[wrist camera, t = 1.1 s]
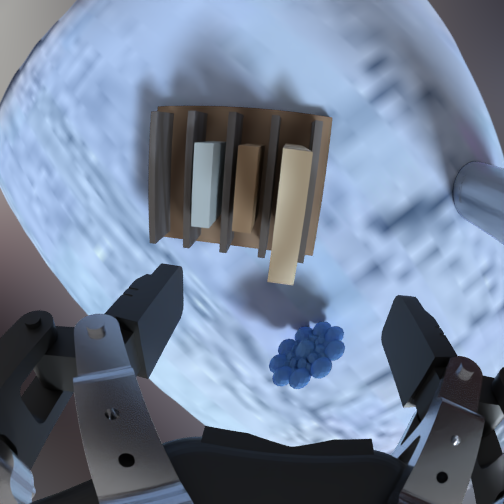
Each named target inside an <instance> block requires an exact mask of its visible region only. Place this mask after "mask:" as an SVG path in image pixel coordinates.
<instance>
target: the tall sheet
mask: <svg viewBox="0 0 504 504" xmlns="http://www.w3.org/2000/svg"><path fill="white" fill-rule="evenodd" d="M312 156H313V152H312V151H310V150H309V149H307V148H306V147H304V146H302V145H296V144H288V143H286V144H285V145H284V147H283V154H282V163H281V172H280V181H279V190H278V199H277V208H276V216H275V225H274V233H273V241H272V250H271V258H270V266H269V274H268V281H267V282H272V283H280V284H288V285H293V284H294V278H295V272H296V267H297V261H298V254H299V248H300V242H301V236H302V229H303V222H304V216H305V209H306V202H307V195H308V187H309V180H310V172H311V164H312Z"/></svg>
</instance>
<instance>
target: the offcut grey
mask: <svg viewBox="0 0 504 504" xmlns="http://www.w3.org/2000/svg"><path fill="white" fill-rule="evenodd" d="M225 152H226V142H221V141H207V142H196V143H195V144H194V162H193V183H192V214H191V226H193V227H202V228H210V227H211V225H212V224H213V223H214V222H215V221H216V219H217V218H218V217H219V216H220V215H221V212H222V195H223V180H224V166H225Z"/></svg>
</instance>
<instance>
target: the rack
mask: <svg viewBox="0 0 504 504" xmlns="http://www.w3.org/2000/svg"><path fill="white" fill-rule="evenodd" d="M331 126H332V118H331V117H325V116H319V115H312V114H305V113H298V112H290V111H281V110H271V109H259V108H245V107H226V106H161V107H158V110H157V111H152V112H151V123H150V143H149V235H150V243H154V244H156V243H157V242H158V241H159V240H160V239H161V238H163V237H171V238H179V239H183V247H184V248H190V247H191V246H192V245H193V243H194V242H195V241H202V242H210V243H218V244H220V250H219V252H221V253H226V252H227V250H228V249H229V247H230V245H234V246H241V247H249V248H257V249H258V257H259V258H265V253H266V250H272V241H273V233H274V225H275V216H276V208H277V199H278V190H279V181H280V172H281V163H282V154H283V147H284V145H285V144H286V143H288V144H296V145H302V146H304V147H306V148H307V149H309V150H310V151H312V152H313V156H312V164H311V172H310V180H309V187H308V195H307V202H306V209H305V216H304V222H303V229H302V236H301V242H300V248H299V254H298V261H297V262H298V263H303V261H304V256H305V255H311V256H313V250H314V244H315V239H316V233H317V227H318V221H319V215H320V208H321V202H322V195H323V189H324V182H325V175H326V167H327V160H328V152H329V144H330V135H331ZM207 141H221V142H226V152H225V166H224V180H223V195H222V212H221V215H220V216H219V217H218V218H217V219H216V221H215V222H214V223H213V224H212V225H211V227H210V228H202V227H193V226H191V214H192V183H193V162H194V144H195V143H196V142H207ZM242 144H259V145H265V146H264V156H263V166H262V177H261V187H260V197H259V207H258V216H257V219H256V221H255V224H254V226H253V229H252V231H251V233H243V232H235V231H232V222H233V208H234V194H235V181H236V168H237V156H238V145H242Z"/></svg>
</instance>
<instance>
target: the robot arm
mask: <svg viewBox="0 0 504 504" xmlns="http://www.w3.org/2000/svg"><path fill="white" fill-rule="evenodd" d="M453 196H454V203H455V206H456V209H457V211H458V212H459V214H460V215H461V216H462V217H463V218H464V219H465V220H467V221H469V222H470V223H472V224H473V225H475V226H477V227H478V228H480V229H481V230H483V231H484V232H486V233H487V234H489V235H490V236H492V237H493V238H495V239H496V240H498V241H499V242H501V243H502V244H503V245H504V169H503V168H500V167H496V166H493V165H489V164H486V163H482V162H470V163H468V164H466V165H465V166H464V167H463V168H462V169H461V170H460V172H459V173H458V175H457V177H456V180H455V184H454V190H453ZM182 312H183V270H182V267H181V266H175V265H169V264H160V265H159V267H158V268H157V269H156V270H155V271H154V272H153V273H152V274H151V275H149V274H146V275H144V276H142V277H140V278H138V279H136V280H135V281H134V282H133V283H132V284H131V285H130V286H129V289H127V290H126V291H125V292H124V293H123V295H121V296H120V297H119V298H118V299H117V301H116V302H115V303H114V304H113V305H112V306H111V307H110V308H109V309H108V311H107V312H106V313H105V314H93V315H89V316H87V317H84V318H83V319H81V320H80V321H79V322H78V323H77V324H76V326H75V327H62V326H55V323H54V320H53V317H52V315H51V314H50V313H48V312H46V311H40V310H39V311H32V312H29V313H27V314H25V315H23V316H22V317H21V318H20V319H19V320H18V321H17V322H16V323H15V324H14V325H13V326H12V327H11V328H10V329H9V330H8V331H7V332H6V333H5V334H4V335H3V336H2V337H1V338H0V504H462V501H463V498H464V496H465V493H466V490H467V487H468V484H469V481H470V478H471V479H472V484H473V488H474V493H475V499H476V504H504V453H502V450H501V447H500V444H499V441H498V439H497V436H496V433H495V431H494V429H495V427H496V426H497V425H498V424H499V423H500V422H501V421H502V420H503V418H504V367H503V368H502V369H501V370H500V371H499V373H498V374H497V376H496V377H495V378H492V377H487V376H483V374H482V371H481V369H480V367H479V366H478V365H477V364H476V363H475V362H474V361H472V360H471V359H469V358H466V357H463V356H457V354H456V353H455V351H454V349H453V347H452V346H451V344H450V342H449V341H448V339H447V338H446V336H445V335H444V333H443V331H442V330H441V328H439V327H440V326H439V325H438V323H437V322H436V320H435V319H434V317H432V316H431V315H430V314H429V313H428V312H427V311H425V310H424V308H423V307H422V305H421V304H420V302H419V301H418V299H417V298H416V297H412V296H402V295H398V296H396V297H395V299H394V301H393V304H392V307H391V309H390V312H389V315H388V317H387V320H386V322H385V325H384V327H383V331H382V337H381V340H382V345H383V348H384V351H385V354H386V357H387V359H388V362H389V365H390V368H391V371H392V374H393V377H394V380H395V383H396V386H397V389H398V392H399V396H400V399H401V402H402V405H403V408H407V407H416V409H417V411H416V412H415V413H414V415H413V416H412V418H411V420H410V422H409V424H408V426H407V428H406V430H405V432H404V434H403V436H402V438H401V439H400V441H399V443H398V445H397V447H396V448H395V450H394V452H393V453H392V455H389V454H386V453H384V452H380V451H376V450H373V444H372V439H350V440H330V441H325V442H320V443H314V444H309V445H303V446H296V447H290V446H285V445H282V444H279V443H276V442H272V441H269V440H266V439H263V438H260V437H257V436H254V435H251V434H249V433H243V432H237V431H230V430H225V429H219V428H214V427H209V426H205V428H204V432H203V435H202V437H187V438H181V439H176V440H172V441H169V442H165V443H163V444H162V443H161V441H160V438H159V436H158V434H157V431H156V429H155V426H154V424H153V422H152V419H151V417H150V414H149V412H148V409H147V407H146V404H145V401H144V399H143V396H142V393H141V390H140V388H139V385H138V382H137V379H136V376H139V377H143V378H147V379H148V378H149V376H150V375H151V373H152V371H153V369H154V367H155V365H156V363H157V361H158V359H159V357H160V356H161V354H162V352H163V350H164V348H165V346H166V344H167V342H168V341H169V339H170V337H171V335H172V333H173V331H174V329H175V328H176V326H177V324H178V322H179V320H180V318H181V315H182ZM33 369H34V371H35V373H36V375H37V376H36V377H35V378H34V380H33V381H32V383H31V384H30V385H29V387H28V388H27V389H26V391H25V392H24V394H23V395H22V397H21V396H20V388H21V385H22V383H23V382H24V381H25V379H26V378H27V377H28V375H29V374H30V373H31V371H32V370H33ZM73 392H74V395H75V402H76V408H77V415H78V421H79V426H80V431H81V436H82V441H83V445H84V450H85V454H86V458H87V462H88V466H89V470H90V473H91V477H92V479H90V480H88V481H86V482H84V483H81V484H79V485H77V486H74V487H72V488H69V489H67V490H64V491H62V492H59V493H56V494H54V495H51V496H48V497H45V498H43V499H40V500H37V501H34V502H32V497H34V495H35V488H34V479H33V475H32V473H31V471H30V470H31V468H32V466H33V464H34V462H35V460H36V459H37V457H38V455H39V453H40V451H41V449H42V447H43V445H44V443H45V441H46V439H47V438H48V436H49V434H50V432H51V430H52V429H53V427H54V425H55V423H56V421H57V420H58V418H59V416H60V415H61V413H62V411H63V409H64V408H65V406H66V404H67V403H68V401H69V399H70V397H71V396H72V394H73Z"/></svg>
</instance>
